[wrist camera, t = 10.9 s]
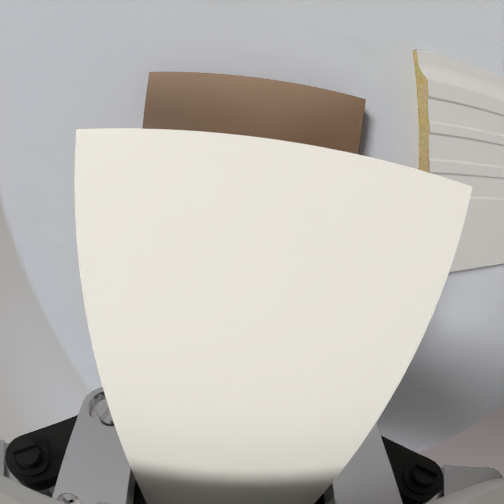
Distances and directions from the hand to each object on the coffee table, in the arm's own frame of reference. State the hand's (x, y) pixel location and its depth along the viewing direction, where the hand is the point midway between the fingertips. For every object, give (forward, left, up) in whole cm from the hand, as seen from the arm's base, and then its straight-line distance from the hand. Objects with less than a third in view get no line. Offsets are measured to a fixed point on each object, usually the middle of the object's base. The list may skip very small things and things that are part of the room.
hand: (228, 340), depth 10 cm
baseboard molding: (-10, +23, -5) cm, 25 cm away
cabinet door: (0, 0, -3) cm, 3 cm away
